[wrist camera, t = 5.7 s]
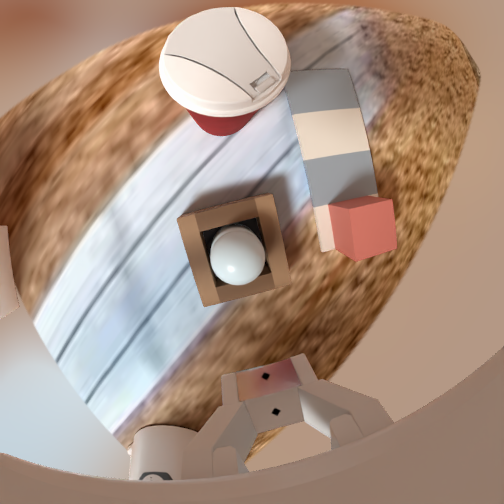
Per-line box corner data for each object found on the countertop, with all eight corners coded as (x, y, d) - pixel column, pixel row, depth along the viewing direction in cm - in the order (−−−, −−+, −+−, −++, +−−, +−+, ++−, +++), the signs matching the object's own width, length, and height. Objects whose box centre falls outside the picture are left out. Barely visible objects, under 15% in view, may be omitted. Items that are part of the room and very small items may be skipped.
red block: (372, 238, 29) (397, 248, 25) (335, 248, 29) (355, 261, 24) (367, 195, 28) (392, 199, 23) (327, 204, 28) (348, 209, 23)
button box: (284, 274, 30) (291, 284, 27) (205, 295, 29) (204, 307, 26) (267, 193, 27) (272, 194, 25) (181, 215, 27) (176, 219, 24)
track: (380, 234, 30) (383, 235, 30) (320, 251, 30) (322, 252, 29) (345, 70, 25) (347, 68, 24) (280, 74, 24) (281, 72, 24)
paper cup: (275, 113, 25) (323, 60, 12) (219, 162, 26) (220, 140, 13) (224, 64, 23) (230, -16, 10) (168, 110, 24) (126, 53, 11)
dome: (263, 262, 29) (275, 285, 22) (218, 274, 28) (218, 300, 22) (252, 218, 27) (262, 229, 21) (205, 230, 27) (202, 244, 21)
